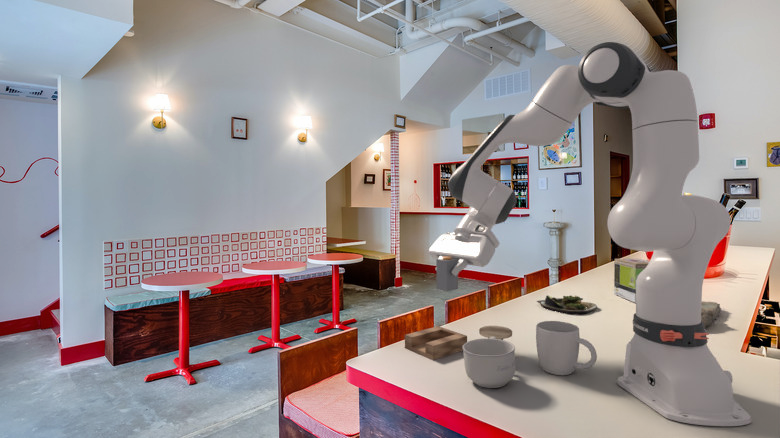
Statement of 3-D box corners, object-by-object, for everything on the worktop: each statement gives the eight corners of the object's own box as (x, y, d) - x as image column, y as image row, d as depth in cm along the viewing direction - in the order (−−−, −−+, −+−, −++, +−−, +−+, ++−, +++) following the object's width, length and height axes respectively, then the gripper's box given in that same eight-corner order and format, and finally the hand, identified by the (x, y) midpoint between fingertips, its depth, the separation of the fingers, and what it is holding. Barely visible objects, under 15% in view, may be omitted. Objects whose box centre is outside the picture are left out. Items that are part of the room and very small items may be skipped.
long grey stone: (728, 315, 140) (692, 312, 147) (727, 299, 140) (691, 297, 148) (708, 334, 116) (666, 328, 123) (707, 315, 116) (665, 310, 123)
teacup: (506, 398, 82) (506, 358, 81) (455, 386, 87) (454, 348, 87) (524, 372, 93) (524, 337, 93) (478, 363, 99) (478, 330, 99)
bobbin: (515, 360, 100) (514, 335, 100) (481, 359, 101) (481, 335, 101) (509, 348, 108) (509, 325, 108) (478, 348, 109) (477, 325, 109)
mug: (530, 371, 94) (529, 327, 94) (545, 359, 101) (545, 318, 100) (590, 387, 86) (590, 339, 85) (602, 373, 92) (602, 328, 92)
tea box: (662, 303, 152) (662, 263, 151) (634, 303, 152) (634, 263, 151) (638, 294, 167) (638, 257, 166) (613, 294, 167) (613, 257, 166)
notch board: (438, 338, 118) (438, 326, 117) (467, 349, 109) (467, 335, 109) (404, 347, 110) (404, 334, 110) (433, 360, 102) (432, 345, 101)
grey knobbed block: (447, 286, 115) (447, 255, 114) (458, 289, 111) (457, 257, 111) (436, 288, 112) (436, 257, 112) (447, 291, 109) (446, 258, 109)
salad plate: (562, 299, 162) (562, 287, 162) (608, 308, 148) (608, 295, 147) (531, 307, 151) (531, 294, 151) (577, 318, 136) (577, 304, 136)
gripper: (439, 225, 124) (414, 261, 118) (493, 228, 107) (466, 270, 102) (450, 239, 126) (426, 275, 121) (504, 244, 110) (479, 286, 104)
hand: (445, 273), depth 111 cm, fingers closed on grey knobbed block, 4 cm apart
